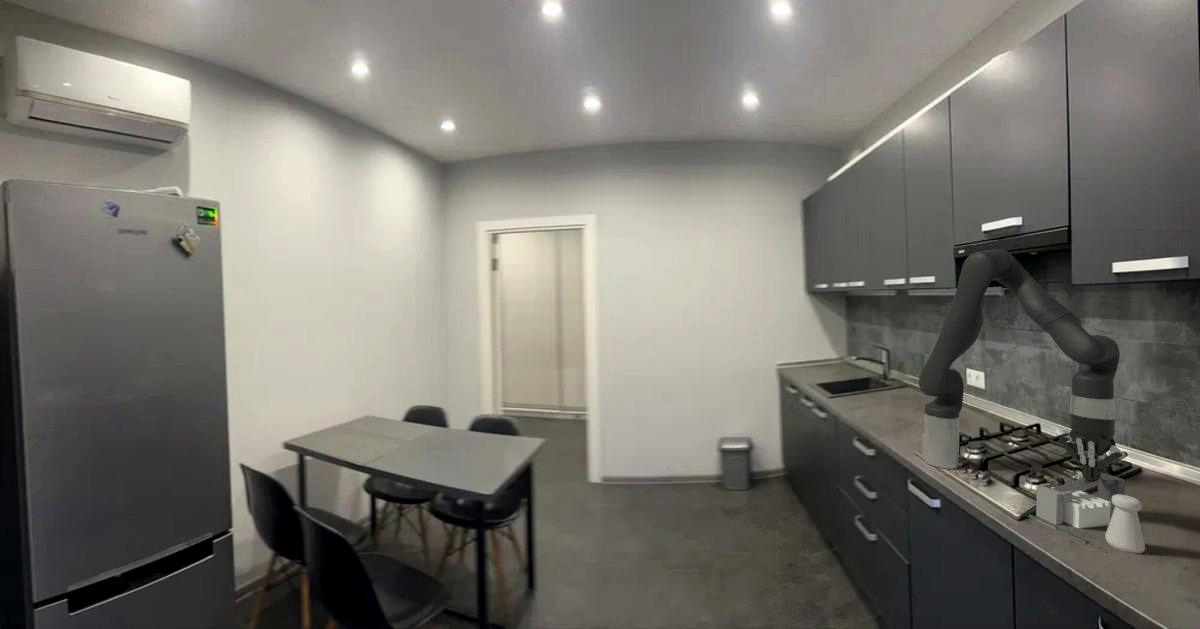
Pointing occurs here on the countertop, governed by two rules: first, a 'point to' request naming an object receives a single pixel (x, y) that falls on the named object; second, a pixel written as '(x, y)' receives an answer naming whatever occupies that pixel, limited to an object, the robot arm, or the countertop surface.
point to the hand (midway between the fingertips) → (1091, 479)
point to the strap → (1076, 485)
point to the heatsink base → (1070, 509)
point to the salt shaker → (1125, 525)
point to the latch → (1110, 488)
